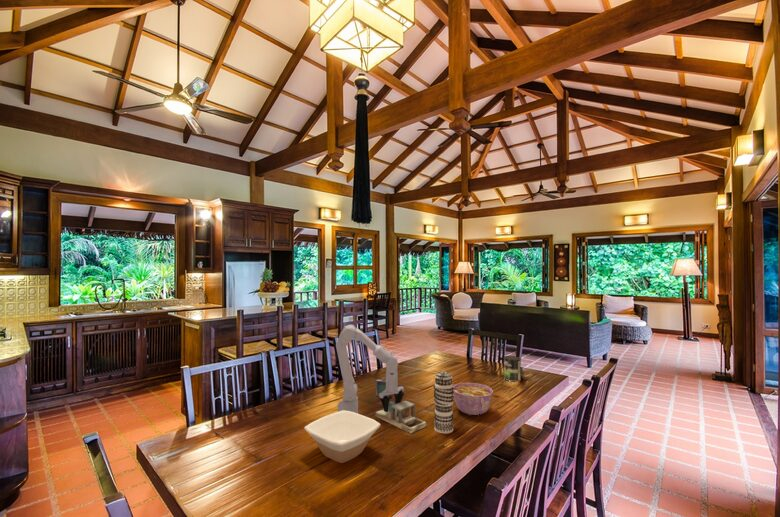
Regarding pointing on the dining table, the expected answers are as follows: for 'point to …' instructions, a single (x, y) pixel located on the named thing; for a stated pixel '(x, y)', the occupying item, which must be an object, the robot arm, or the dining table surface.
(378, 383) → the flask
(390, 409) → the block
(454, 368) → the dining table surface
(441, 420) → the white patterned tall cylinder
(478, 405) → the bowl of food
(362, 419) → the bowl
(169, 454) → the dining table surface
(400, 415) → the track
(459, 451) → the dining table surface
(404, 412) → the walnut block
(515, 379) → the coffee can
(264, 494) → the dining table surface
